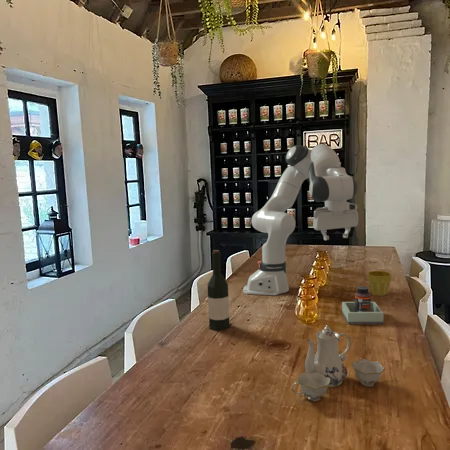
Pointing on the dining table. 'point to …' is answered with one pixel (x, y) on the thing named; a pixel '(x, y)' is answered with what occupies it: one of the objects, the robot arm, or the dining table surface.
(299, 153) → the robot arm
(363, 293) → the supplement bottle
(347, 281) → the dining table surface
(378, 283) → the plant pot
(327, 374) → the chinaware
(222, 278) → the wine bottle
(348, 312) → the grey-green square tray
